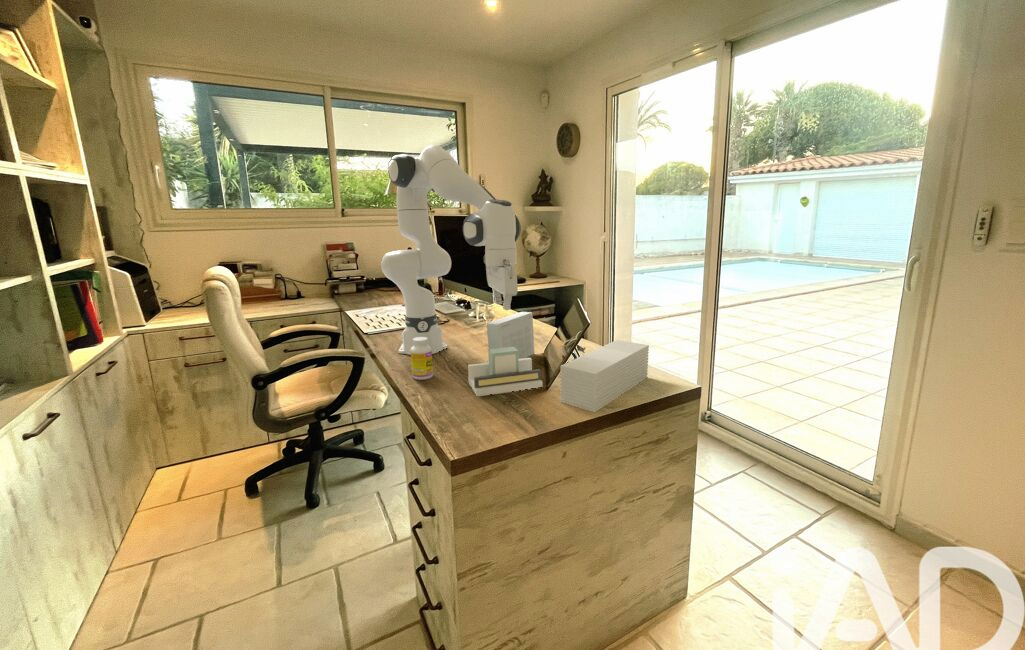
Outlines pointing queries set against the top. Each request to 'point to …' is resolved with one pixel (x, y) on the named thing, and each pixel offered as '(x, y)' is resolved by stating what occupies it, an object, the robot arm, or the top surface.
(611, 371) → the stack of papers
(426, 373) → the supplement bottle
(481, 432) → the top surface
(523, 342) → the skincare box
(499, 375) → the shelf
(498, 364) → the product box
